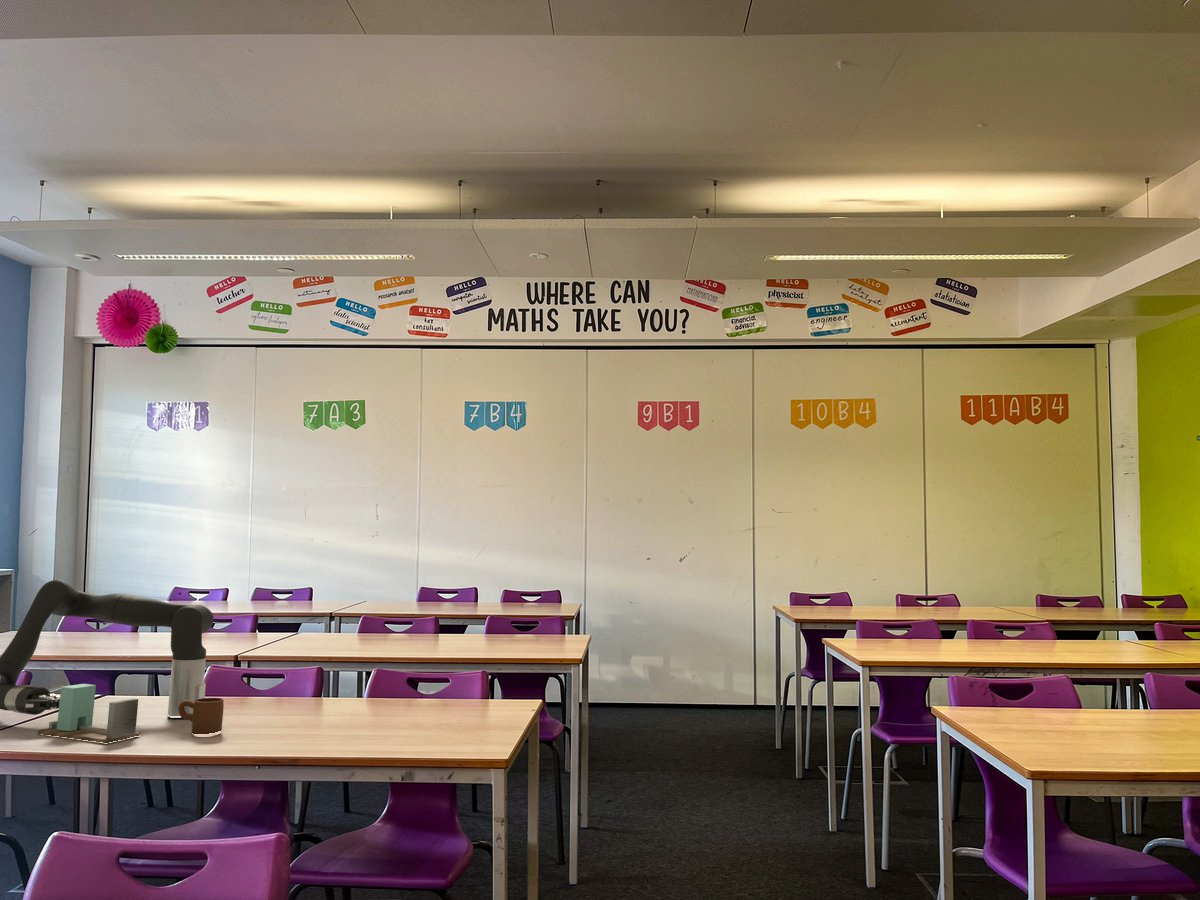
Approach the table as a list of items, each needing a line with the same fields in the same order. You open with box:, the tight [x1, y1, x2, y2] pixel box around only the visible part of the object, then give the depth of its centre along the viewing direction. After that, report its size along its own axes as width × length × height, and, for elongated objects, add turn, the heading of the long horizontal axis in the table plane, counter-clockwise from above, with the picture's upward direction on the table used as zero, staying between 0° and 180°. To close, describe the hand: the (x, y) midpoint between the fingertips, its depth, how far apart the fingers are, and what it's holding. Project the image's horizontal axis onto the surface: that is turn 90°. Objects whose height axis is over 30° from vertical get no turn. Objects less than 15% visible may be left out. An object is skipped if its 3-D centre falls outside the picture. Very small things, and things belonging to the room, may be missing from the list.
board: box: [37, 727, 141, 743], centre depth 223 cm, size 26×10×1 cm, turn 69°
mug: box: [178, 697, 225, 734], centre depth 228 cm, size 12×8×9 cm, turn 90°
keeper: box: [57, 683, 97, 731], centre depth 226 cm, size 5×6×11 cm
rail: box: [48, 698, 139, 739], centre depth 224 cm, size 26×7×9 cm, turn 69°
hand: (70, 704), depth 227 cm, fingers closed
